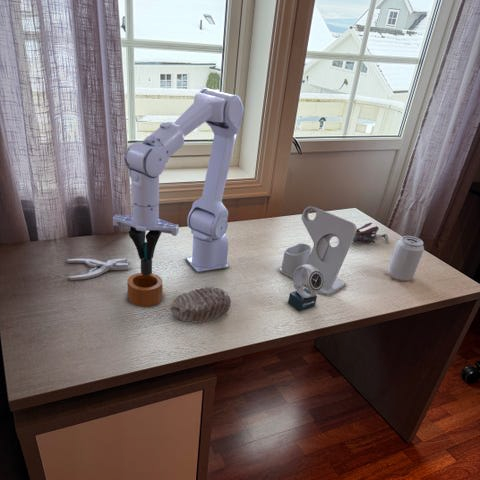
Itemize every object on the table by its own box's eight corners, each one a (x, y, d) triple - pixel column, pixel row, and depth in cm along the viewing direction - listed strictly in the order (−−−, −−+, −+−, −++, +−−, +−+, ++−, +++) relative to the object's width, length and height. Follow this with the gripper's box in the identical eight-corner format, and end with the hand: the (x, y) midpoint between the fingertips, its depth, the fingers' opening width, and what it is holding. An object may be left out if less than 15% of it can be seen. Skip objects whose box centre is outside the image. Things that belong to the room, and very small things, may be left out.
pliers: (66, 256, 118) (124, 252, 123) (67, 261, 119) (124, 257, 124) (68, 274, 110) (130, 270, 115) (69, 280, 111) (130, 275, 116)
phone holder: (276, 270, 127) (287, 210, 117) (297, 260, 134) (309, 203, 124) (326, 296, 119) (343, 234, 108) (346, 284, 125) (363, 224, 115)
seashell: (217, 285, 112) (224, 266, 103) (233, 317, 110) (242, 301, 100) (163, 304, 107) (166, 287, 98) (179, 338, 105) (183, 324, 95)
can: (413, 274, 135) (427, 238, 128) (410, 285, 129) (424, 248, 122) (388, 267, 137) (401, 231, 130) (384, 277, 131) (397, 240, 124)
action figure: (372, 235, 158) (333, 239, 149) (377, 219, 155) (337, 222, 146) (388, 243, 152) (348, 248, 144) (393, 227, 149) (353, 230, 140)
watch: (304, 315, 110) (313, 277, 104) (283, 299, 115) (290, 262, 108) (320, 310, 113) (330, 272, 106) (299, 294, 118) (307, 257, 111)
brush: (149, 269, 108) (149, 239, 103) (153, 274, 106) (153, 244, 101) (139, 271, 107) (138, 240, 102) (142, 276, 105) (142, 245, 100)
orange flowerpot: (155, 286, 114) (155, 270, 111) (167, 302, 108) (167, 286, 105) (123, 291, 110) (123, 275, 107) (134, 309, 104) (133, 292, 102)
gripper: (105, 203, 93) (109, 260, 101) (173, 214, 92) (171, 271, 100) (118, 192, 99) (121, 247, 107) (181, 202, 98) (179, 257, 106)
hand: (146, 257), depth 104 cm, fingers closed on brush
